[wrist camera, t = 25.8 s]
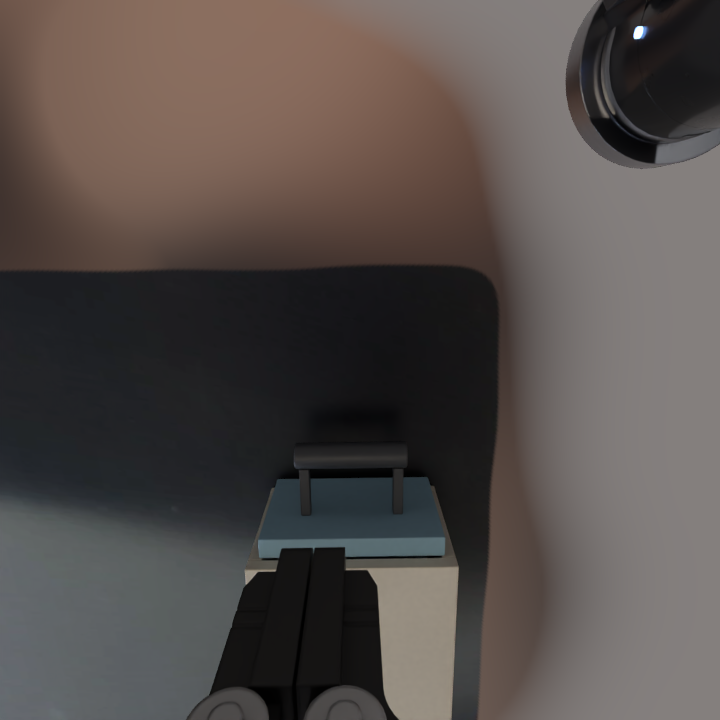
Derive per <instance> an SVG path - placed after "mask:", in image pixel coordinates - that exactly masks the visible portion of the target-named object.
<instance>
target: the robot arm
mask: <svg viewBox="0 0 720 720" xmlns="http://www.w3.org/2000/svg"><path fill="white" fill-rule="evenodd" d="M603 2H604V5H605V8H606V10H607V11H606V12H605V14H604V18H605V21H606V24H607V27H608V35H607V38H606V41H605V44H604V49H603V53H602V60H601V83H602V89H603V93H604V97H605V100H606V102H607V105H608V107H609V109H610V111H611V113H612V114H613V116H614V117H615V119H616V120H617V121H618V122H619V123H620V124H621V125H622V126H623V127H624V128H625V129H626V130H627V131H629V132H630V133H632V134H633V135H635V136H637V137H639V138H641V139H644V140H647V141H651V142H657V143H673V142H679V141H683V140H687V139H690V138H694V137H697V136H700V135H702V134H705V133H708V132H711V131H713V130H716V129H719V128H720V0H603ZM186 720H399V719H398V718H397V717H396V716H395V715H394V713H393V712H392V710H391V709H390V707H389V705H388V703H387V701H386V698H385V695H384V688H383V672H382V655H381V638H380V621H379V604H378V587H377V585H376V583H375V581H374V580H373V578H372V576H371V575H370V573H369V572H368V570H346V554H345V547H318V548H315V549H314V553H313V548H282V549H281V552H280V556H279V560H278V564H277V568H276V571H275V572H257V573H256V574H255V576H254V577H253V578H252V579H251V580H250V581H249V583H248V584H247V585H246V586H245V587H244V588H243V592H242V595H241V598H240V601H239V604H238V607H237V611H236V614H235V617H234V620H233V623H232V628H231V629H230V632H229V636H228V639H227V642H226V645H225V648H224V651H223V654H222V658H221V661H220V664H219V667H218V670H217V673H216V676H215V679H214V683H213V686H212V689H211V692H210V694H209V696H207V697H206V698H204V699H203V700H202V701H201V702H200V703H198V704H197V706H196V707H195V708H194V709H193V710H192V711H191V713H190V714H189V716H188V717H187V719H186Z"/></svg>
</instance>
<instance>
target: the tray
mask: <svg viewBox="0 0 720 720" xmlns="http://www.w3.org/2000/svg"><path fill="white" fill-rule="evenodd" d="M407 465H408V449H407V443H406V442H405V441H396V442H323V443H296V444H295V447H294V466H295V469H299V479H278V480H277V482H276V485H275V489H274V492H273V495H272V498H271V501H270V504H269V507H268V510H267V513H266V516H265V520H264V523H263V526H262V529H261V532H260V535H259V538H258V550H259V558H278V560H279V556H280V552H281V549H282V548H313V553H314V549H315V548H318V547H345V554H346V557H356V559H403V558H428V557H427V556H444V555H445V535H444V531H443V528H442V524H441V521H440V517H439V514H438V511H437V507H436V504H435V500H434V497H433V493H432V490H431V487H430V483H429V480H428V477H403V468H406V467H407ZM339 468H393V478H326V479H310V469H339Z"/></svg>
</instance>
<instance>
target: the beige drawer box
mask: <svg viewBox="0 0 720 720" xmlns="http://www.w3.org/2000/svg"><path fill="white" fill-rule="evenodd" d="M430 487H431V490H432V493H433V497H434V500H435V504H436V507H437V511H438V514H439V517H440V521H441V524H442V528H443V531H444V535H445V555H444V556H427V557H428V558H403V559H346V570H368V572H369V573H370V575H371V576H372V578H373V580H374V581H375V583H376V585H377V587H378V604H379V621H380V638H381V655H382V672H383V688H384V695H385V698H386V701H387V703H388V705H389V707H390V709H391V710H392V712H393V713H394V715H395V716H396V717H397V718H398V719H399V720H451V715H452V695H453V674H454V654H455V633H456V613H457V592H458V572H459V566H458V563H457V560H456V557H455V554H454V550H453V547H452V544H451V540H450V537H449V534H448V531H447V527H446V524H445V521H444V518H443V514H442V511H441V508H440V504H439V501H438V498H437V495H436V491H435V488H434V486H430ZM274 489H275V488H272V490H271V493H270V496H269V499H268V502H267V505H266V508H265V511H264V514H263V517H262V520H261V523H260V526H259V529H258V532H257V535H256V538H255V541H254V544H253V547H252V550H251V553H250V556H249V559H248V562H247V565H246V568H245V578H246V585H247V584H248V583H249V581H250V580H251V579H252V578H253V577H254V576H255V574H256V573H257V572H275V571H276V568H277V564H278V558H259V550H258V538H259V535H260V532H261V529H262V526H263V523H264V520H265V516H266V513H267V510H268V507H269V504H270V501H271V498H272V495H273V492H274Z"/></svg>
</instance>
